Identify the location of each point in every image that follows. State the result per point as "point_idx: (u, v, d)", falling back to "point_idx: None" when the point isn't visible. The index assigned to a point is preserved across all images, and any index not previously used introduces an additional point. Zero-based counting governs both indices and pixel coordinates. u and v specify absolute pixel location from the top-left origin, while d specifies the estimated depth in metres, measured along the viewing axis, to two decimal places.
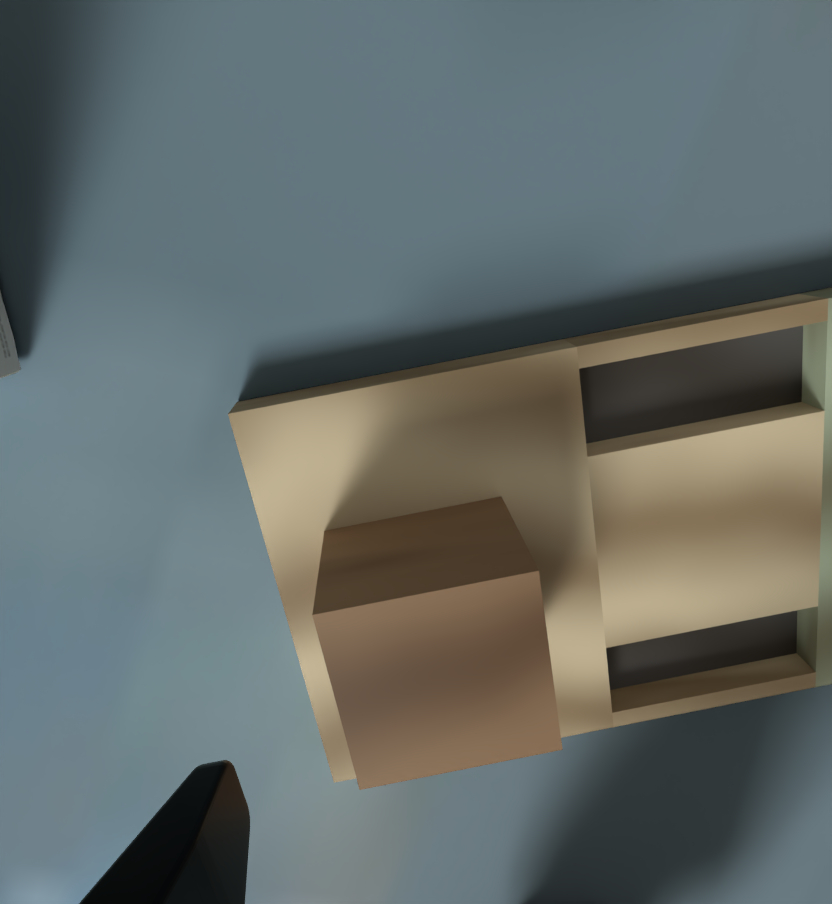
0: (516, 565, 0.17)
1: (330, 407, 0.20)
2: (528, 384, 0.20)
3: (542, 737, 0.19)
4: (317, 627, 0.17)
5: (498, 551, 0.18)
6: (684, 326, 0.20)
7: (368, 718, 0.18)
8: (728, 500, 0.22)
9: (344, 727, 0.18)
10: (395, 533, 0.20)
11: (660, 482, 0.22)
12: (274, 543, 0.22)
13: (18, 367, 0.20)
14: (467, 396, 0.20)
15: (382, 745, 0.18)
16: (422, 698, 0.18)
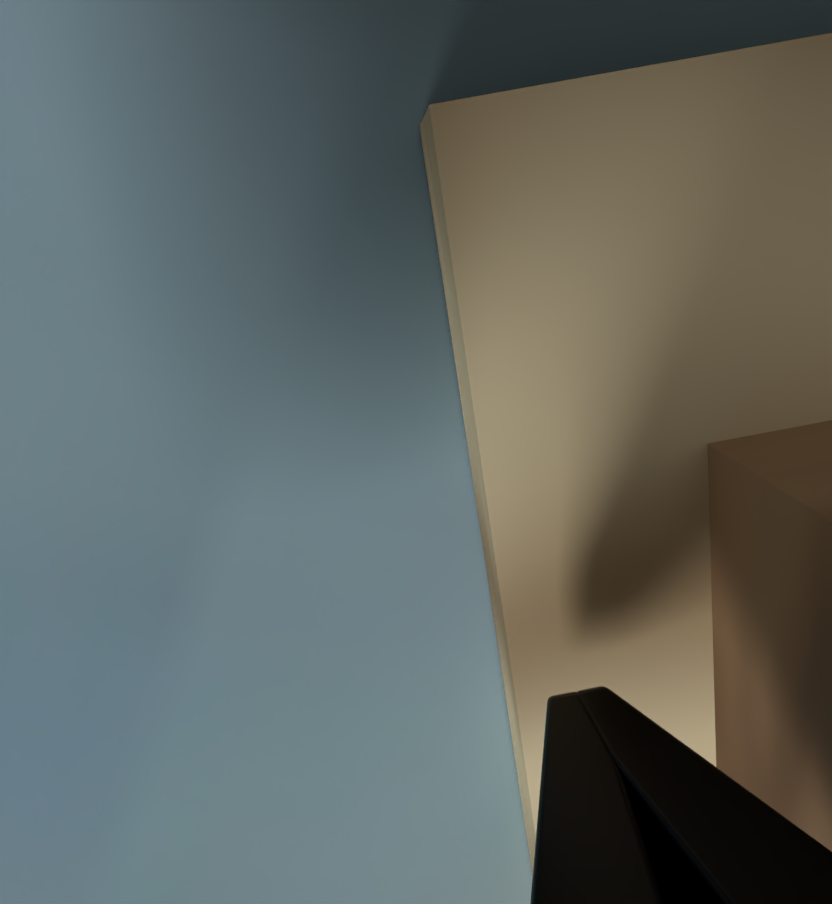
0: None
1: (716, 96, 0.07)
2: None
3: None
4: None
5: None
6: None
7: None
8: None
9: None
10: None
11: None
12: (508, 491, 0.08)
13: None
14: None
15: None
16: None
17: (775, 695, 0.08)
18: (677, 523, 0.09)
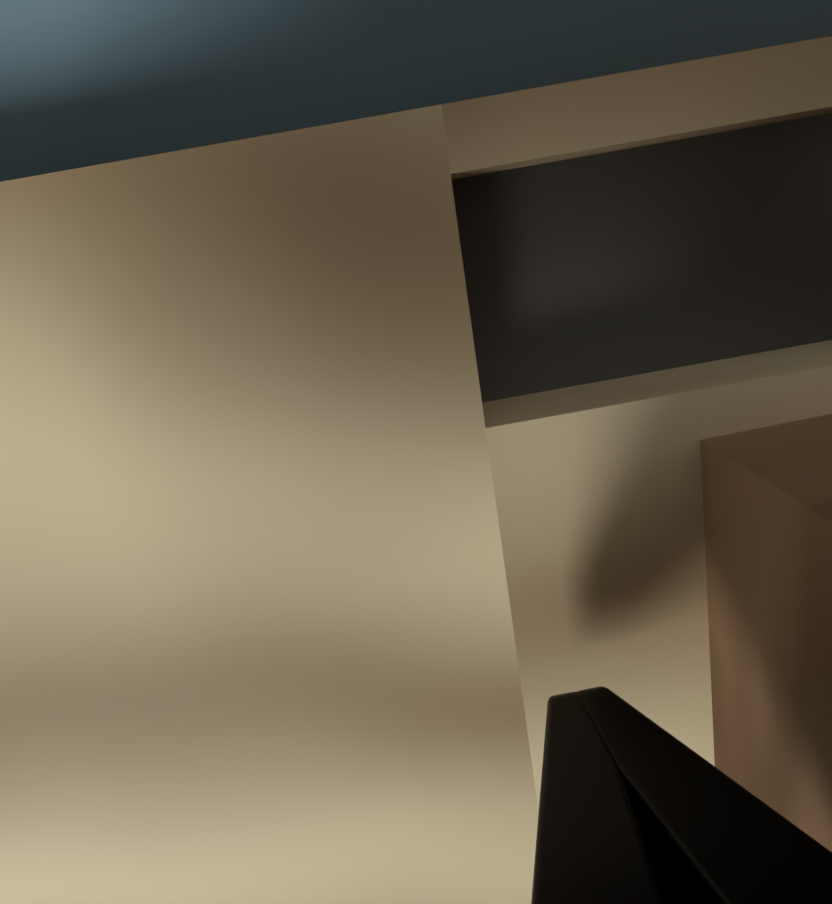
0: None
1: None
2: (309, 217, 0.07)
3: None
4: None
5: None
6: (751, 52, 0.07)
7: None
8: None
9: None
10: None
11: (674, 496, 0.09)
12: None
13: None
14: (136, 247, 0.07)
15: None
16: None
17: (770, 690, 0.08)
18: None
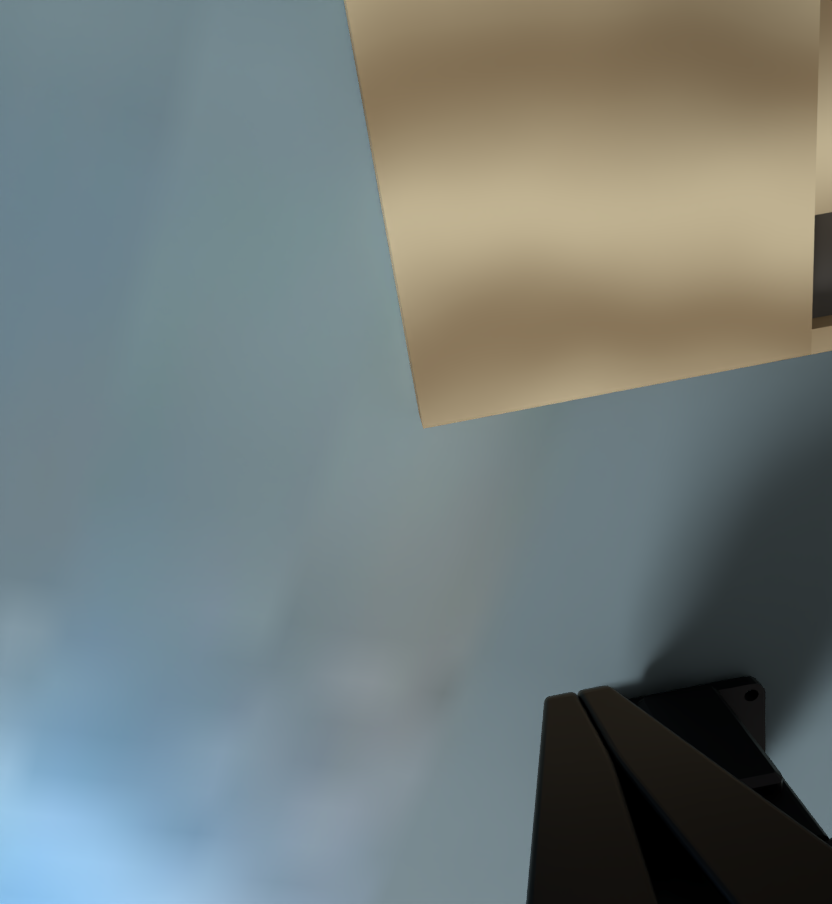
0: None
1: None
2: None
3: None
4: None
5: None
6: None
7: None
8: None
9: None
10: None
11: None
12: None
13: None
14: None
15: None
16: None
17: None
18: (459, 19, 0.15)
